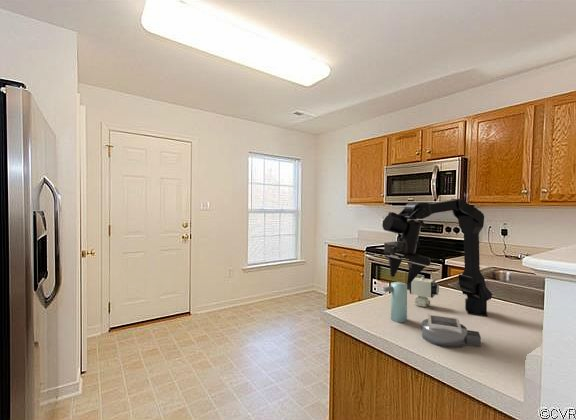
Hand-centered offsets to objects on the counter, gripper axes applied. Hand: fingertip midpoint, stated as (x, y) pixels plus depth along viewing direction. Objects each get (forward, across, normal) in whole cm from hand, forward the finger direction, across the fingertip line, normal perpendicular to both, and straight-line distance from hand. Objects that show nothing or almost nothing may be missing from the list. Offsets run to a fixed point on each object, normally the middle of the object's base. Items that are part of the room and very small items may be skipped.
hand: (400, 279), depth 107 cm
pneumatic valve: (+10, -13, +24) cm, 29 cm away
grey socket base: (+13, +16, +10) cm, 23 cm away
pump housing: (+15, -3, +4) cm, 16 cm away
